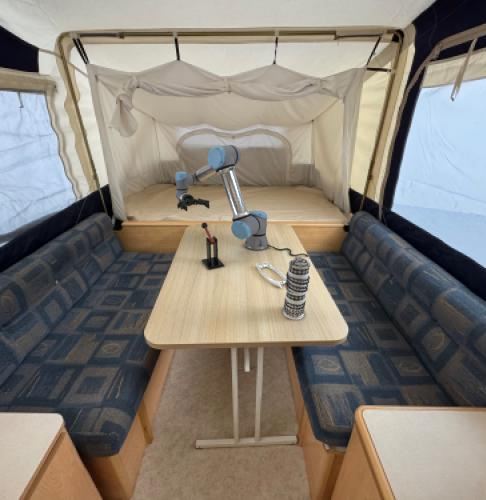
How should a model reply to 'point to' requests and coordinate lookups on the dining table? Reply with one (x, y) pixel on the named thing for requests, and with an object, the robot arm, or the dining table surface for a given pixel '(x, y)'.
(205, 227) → the lever
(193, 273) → the dining table surface
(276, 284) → the door handle
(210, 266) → the bracket
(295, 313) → the decorative candle
